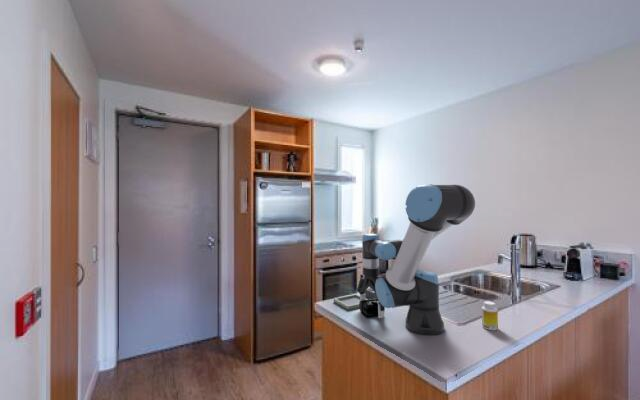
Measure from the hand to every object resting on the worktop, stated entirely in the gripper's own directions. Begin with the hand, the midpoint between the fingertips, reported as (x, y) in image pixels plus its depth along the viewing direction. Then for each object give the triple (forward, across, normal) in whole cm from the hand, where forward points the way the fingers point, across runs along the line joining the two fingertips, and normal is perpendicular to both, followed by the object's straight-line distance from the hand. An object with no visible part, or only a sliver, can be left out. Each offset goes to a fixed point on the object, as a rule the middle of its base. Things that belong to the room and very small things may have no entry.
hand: (371, 312), depth 134 cm
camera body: (+1, +18, -14) cm, 23 cm away
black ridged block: (+1, 0, 0) cm, 1 cm away
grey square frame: (+1, +16, 0) cm, 16 cm away
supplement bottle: (+1, -36, -32) cm, 48 cm away
